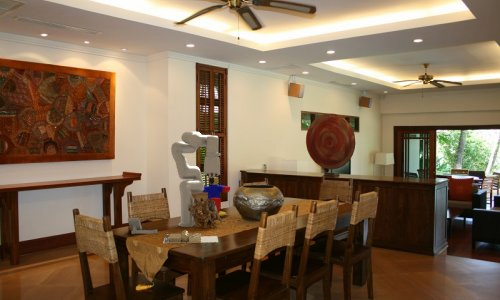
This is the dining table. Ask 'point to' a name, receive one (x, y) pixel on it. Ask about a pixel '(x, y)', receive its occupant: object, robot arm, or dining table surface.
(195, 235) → the door leaf
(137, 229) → the door handle
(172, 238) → the frame leaf
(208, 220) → the decorative coral sculpture
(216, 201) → the figurine
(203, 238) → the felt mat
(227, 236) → the dining table surface
